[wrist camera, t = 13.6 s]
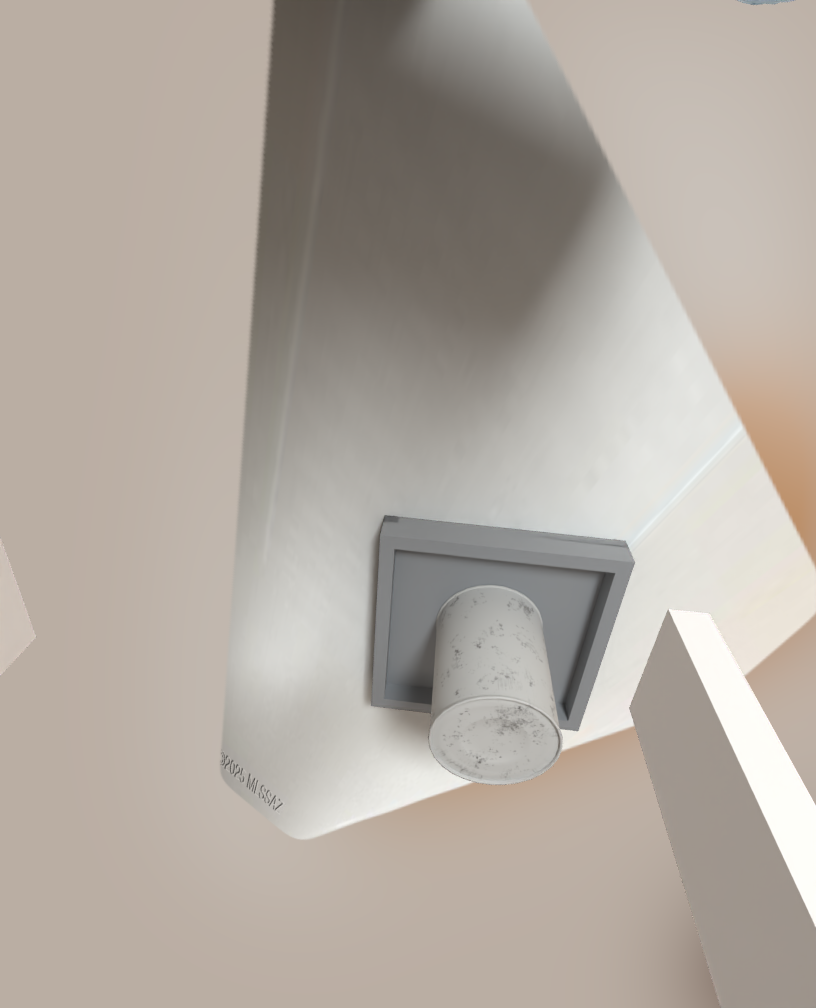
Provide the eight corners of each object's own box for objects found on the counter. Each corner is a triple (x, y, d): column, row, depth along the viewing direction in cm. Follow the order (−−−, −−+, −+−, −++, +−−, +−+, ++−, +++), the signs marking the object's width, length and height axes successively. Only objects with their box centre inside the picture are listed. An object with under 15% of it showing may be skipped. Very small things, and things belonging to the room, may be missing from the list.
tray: (384, 515, 47) (380, 534, 45) (625, 540, 47) (634, 562, 44) (375, 682, 58) (371, 706, 55) (573, 705, 57) (578, 731, 54)
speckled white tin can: (557, 648, 52) (581, 770, 41) (461, 675, 55) (460, 795, 44) (519, 570, 48) (535, 682, 37) (418, 603, 51) (405, 716, 40)
